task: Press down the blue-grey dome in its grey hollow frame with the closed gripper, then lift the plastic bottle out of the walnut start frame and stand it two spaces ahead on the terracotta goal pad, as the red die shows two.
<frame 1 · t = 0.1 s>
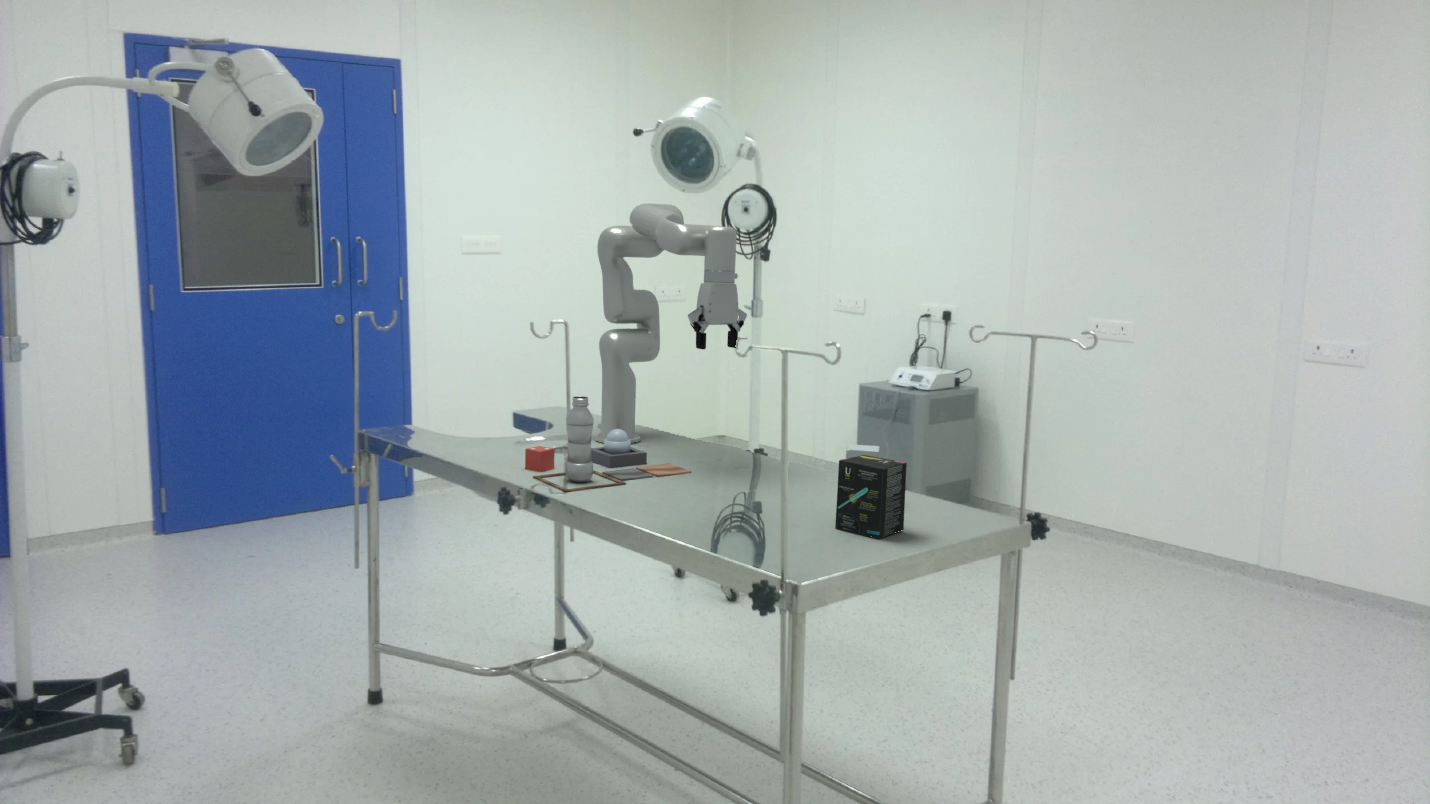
hand: (716, 348, 261), 31 cm above the table, fingers open, 9 cm apart
plastic bottle: (579, 482, 251), resting in game track
game track: (615, 476, 257), on the table
tampon box: (869, 531, 218), on the table
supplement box: (859, 503, 241), on the table
red die: (539, 468, 262), on the table
dome: (617, 440, 272), point 6 cm above the table, slide at 0.0 cm
grey hollow frame: (616, 461, 273), on the table
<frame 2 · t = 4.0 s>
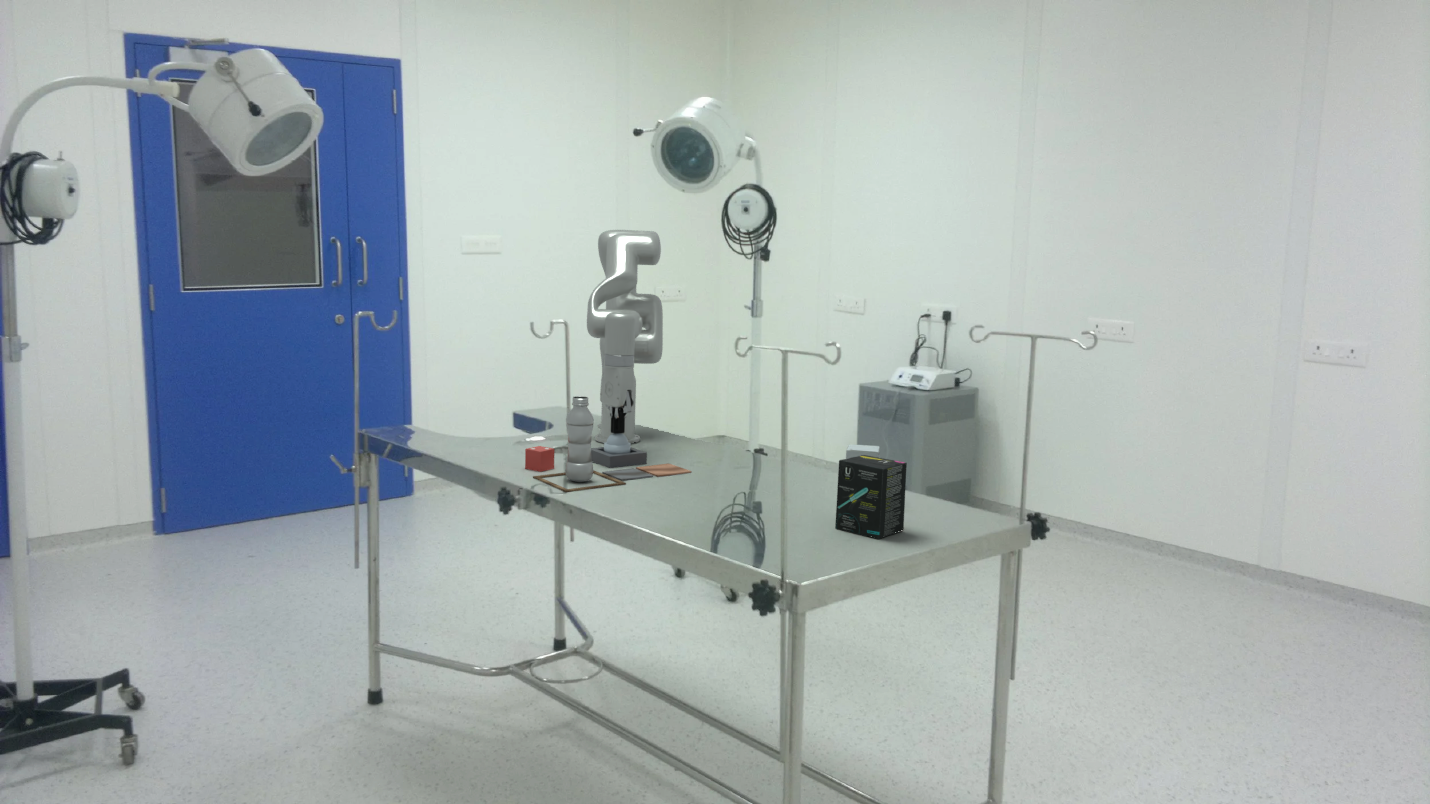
hand: (617, 432, 272), 8 cm above the table, fingers closed
dome: (617, 444, 273), point 5 cm above the table, slide at 0.9 cm, touching gripper
everything else where it was.
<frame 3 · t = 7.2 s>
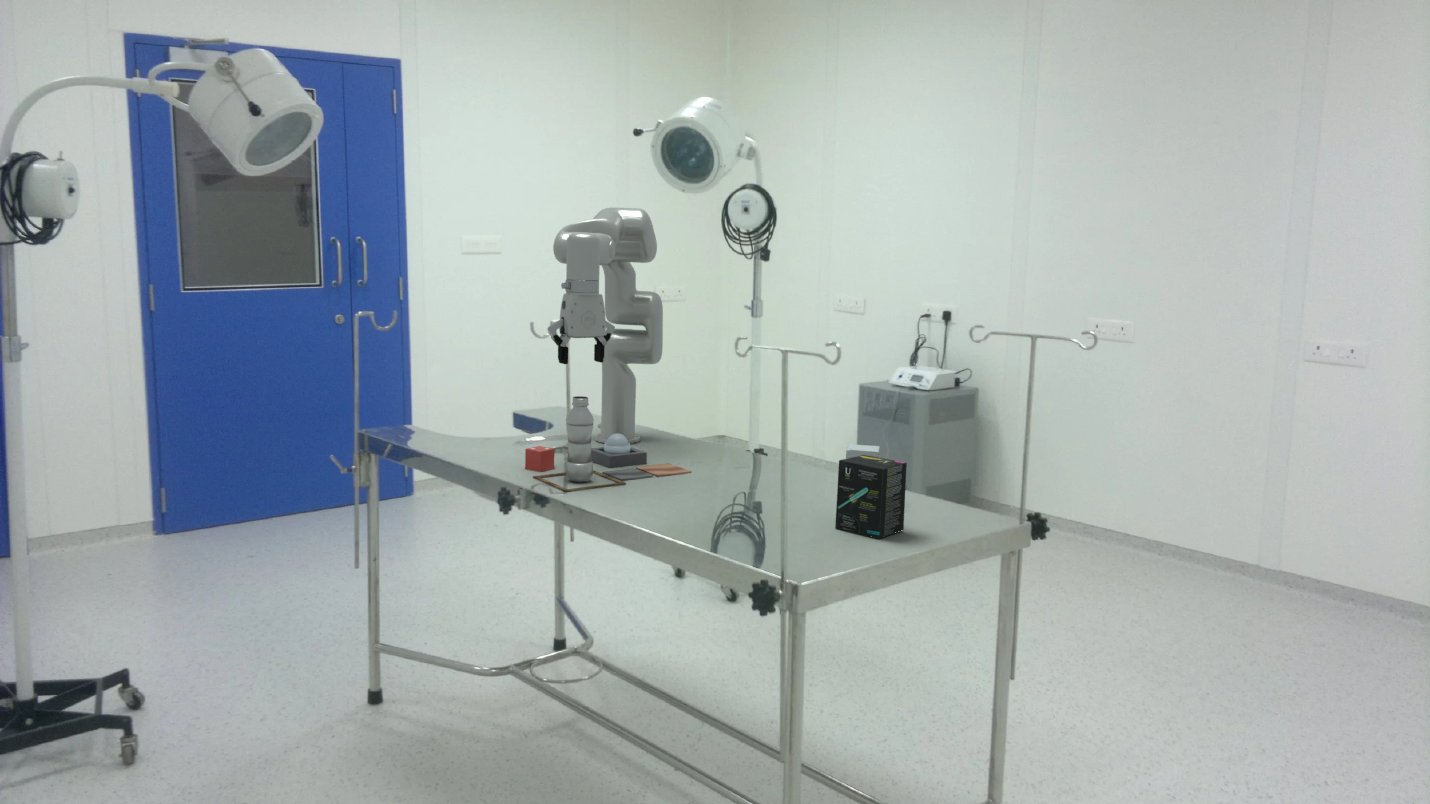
hand: (581, 362, 247), 28 cm above the table, fingers open, 9 cm apart
dome: (617, 445, 273), point 4 cm above the table, slide at 1.2 cm
everything else where it was.
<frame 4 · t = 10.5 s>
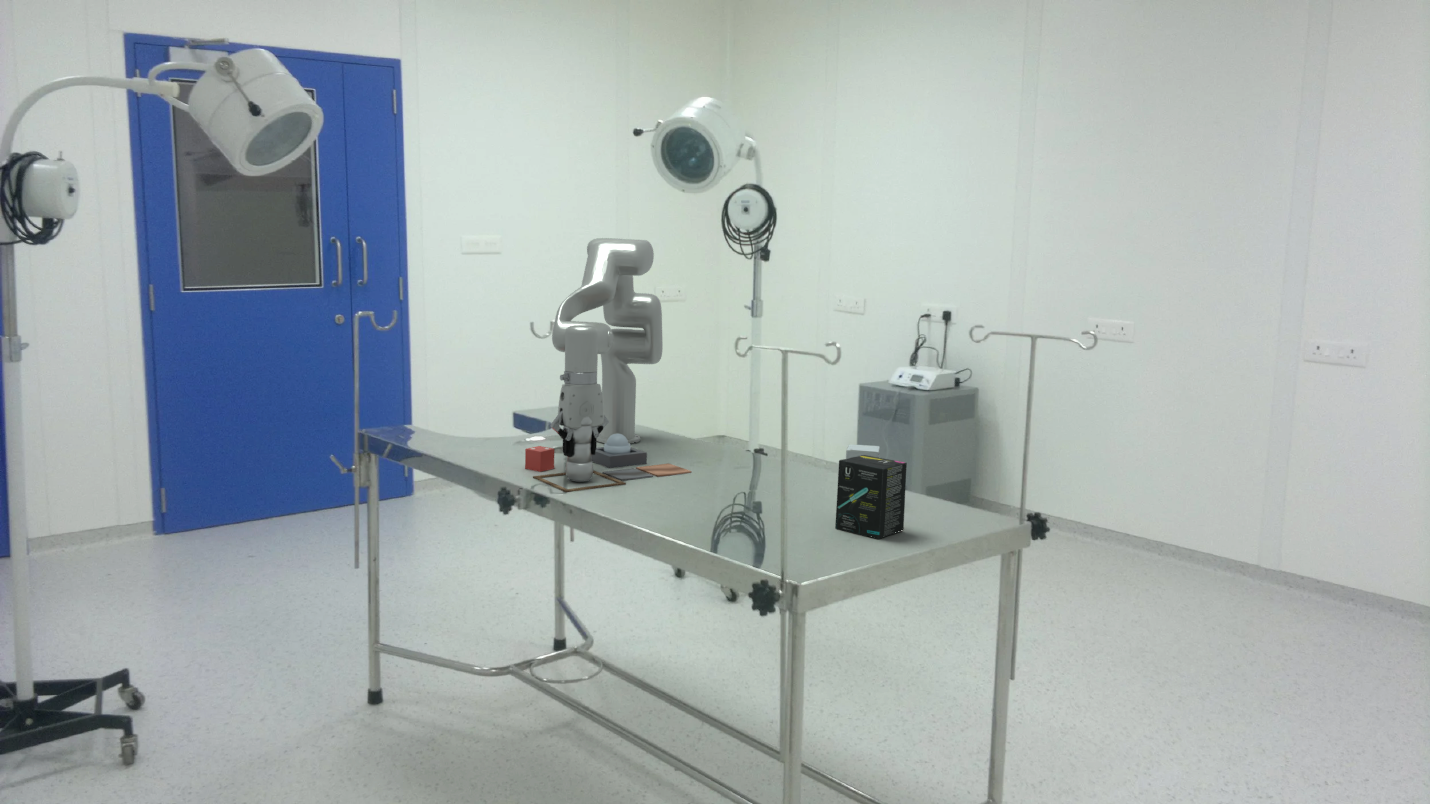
hand: (579, 454, 250), 6 cm above the table, fingers closed on plastic bottle, 5 cm apart
plastic bottle: (579, 482, 251), resting in game track, touching gripper
everything else where it was.
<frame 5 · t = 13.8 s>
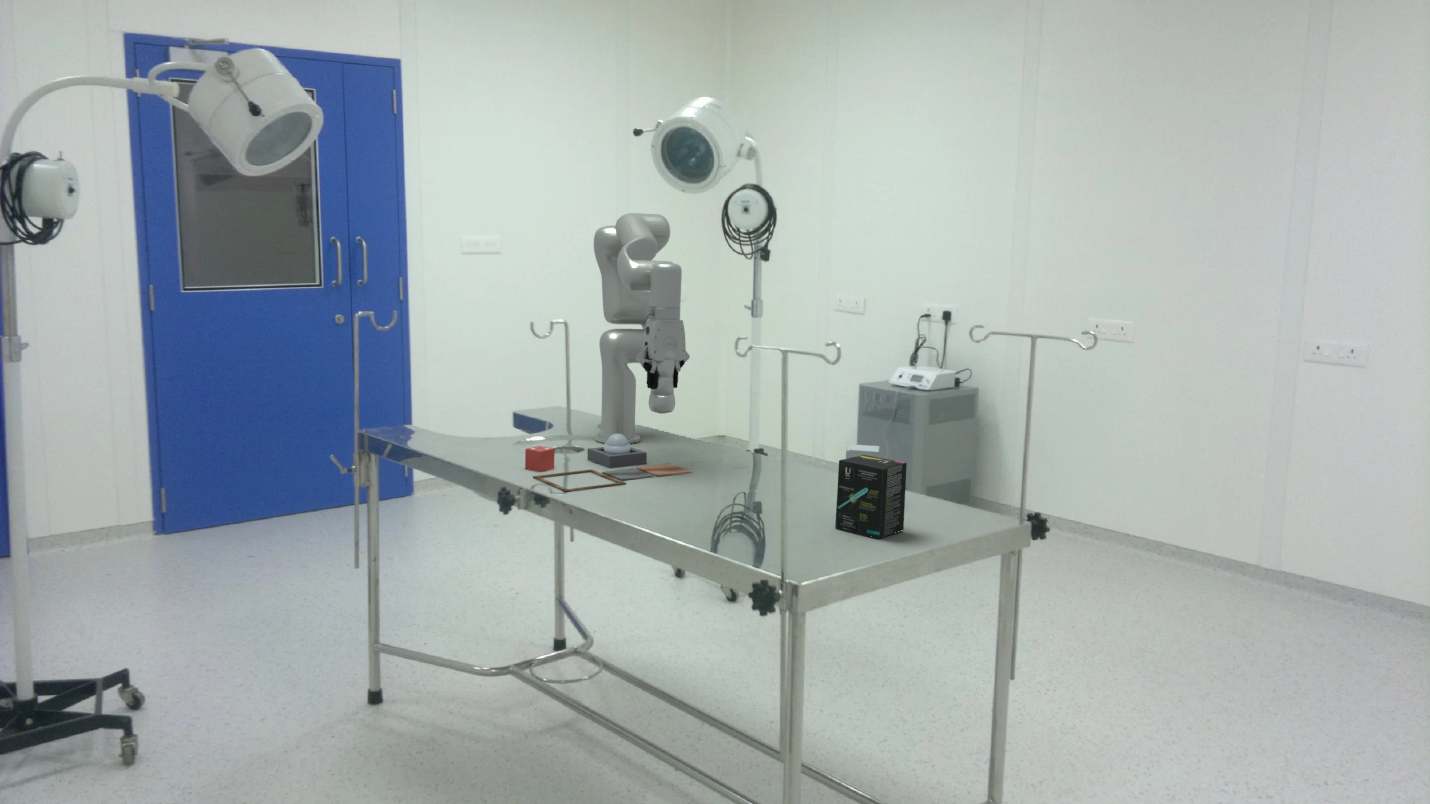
hand: (662, 387, 262), 21 cm above the table, fingers closed on plastic bottle, 5 cm apart
plastic bottle: (661, 413, 263), point 14 cm above the table, touching gripper
everything else where it was.
when the fingers open (8 cm above the table, at t = 17.0 s): plastic bottle moves 1 cm, resting on game track.
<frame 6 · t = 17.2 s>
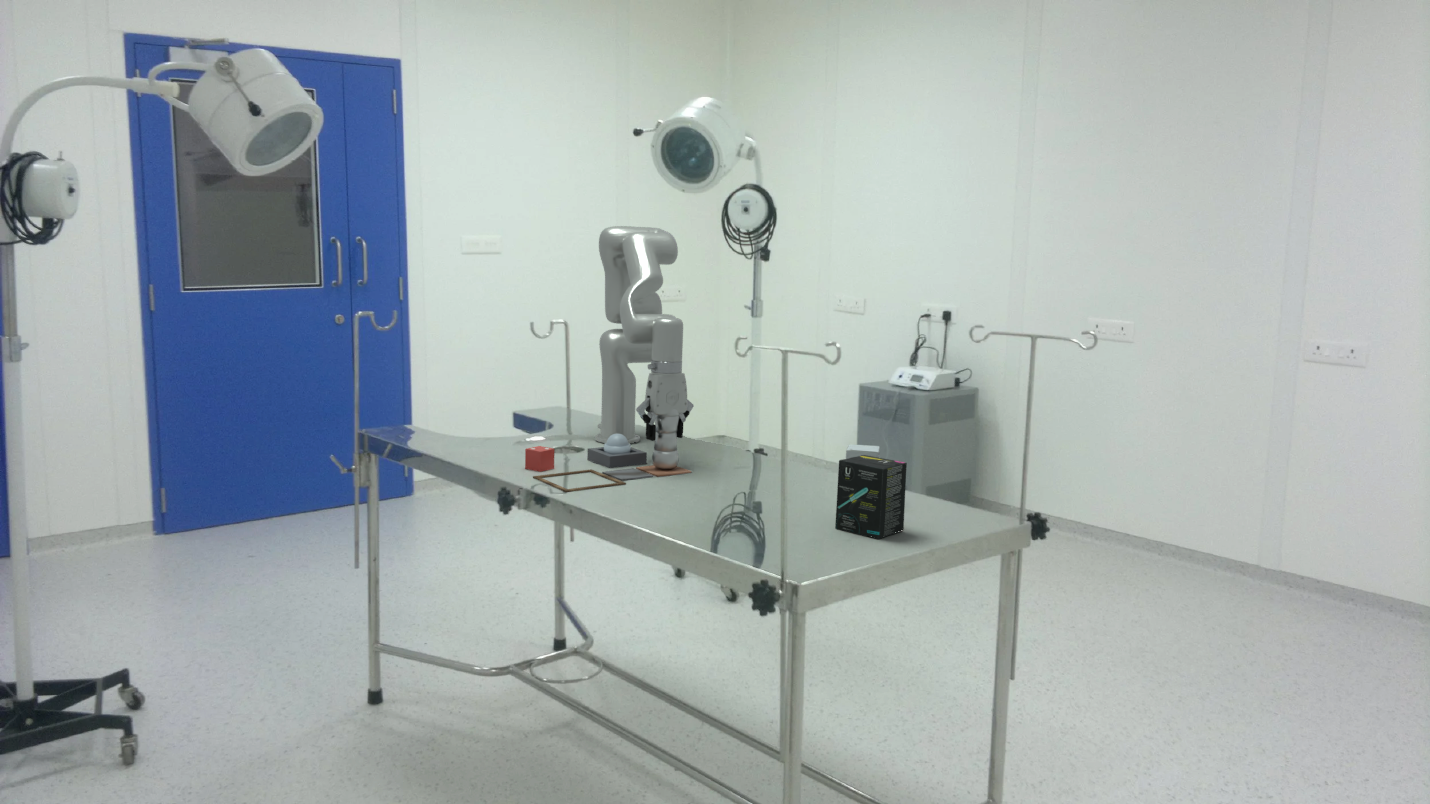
hand: (664, 438, 264), 8 cm above the table, fingers open, 7 cm apart
plastic bottle: (665, 469, 266), resting on game track
everything else where it was.
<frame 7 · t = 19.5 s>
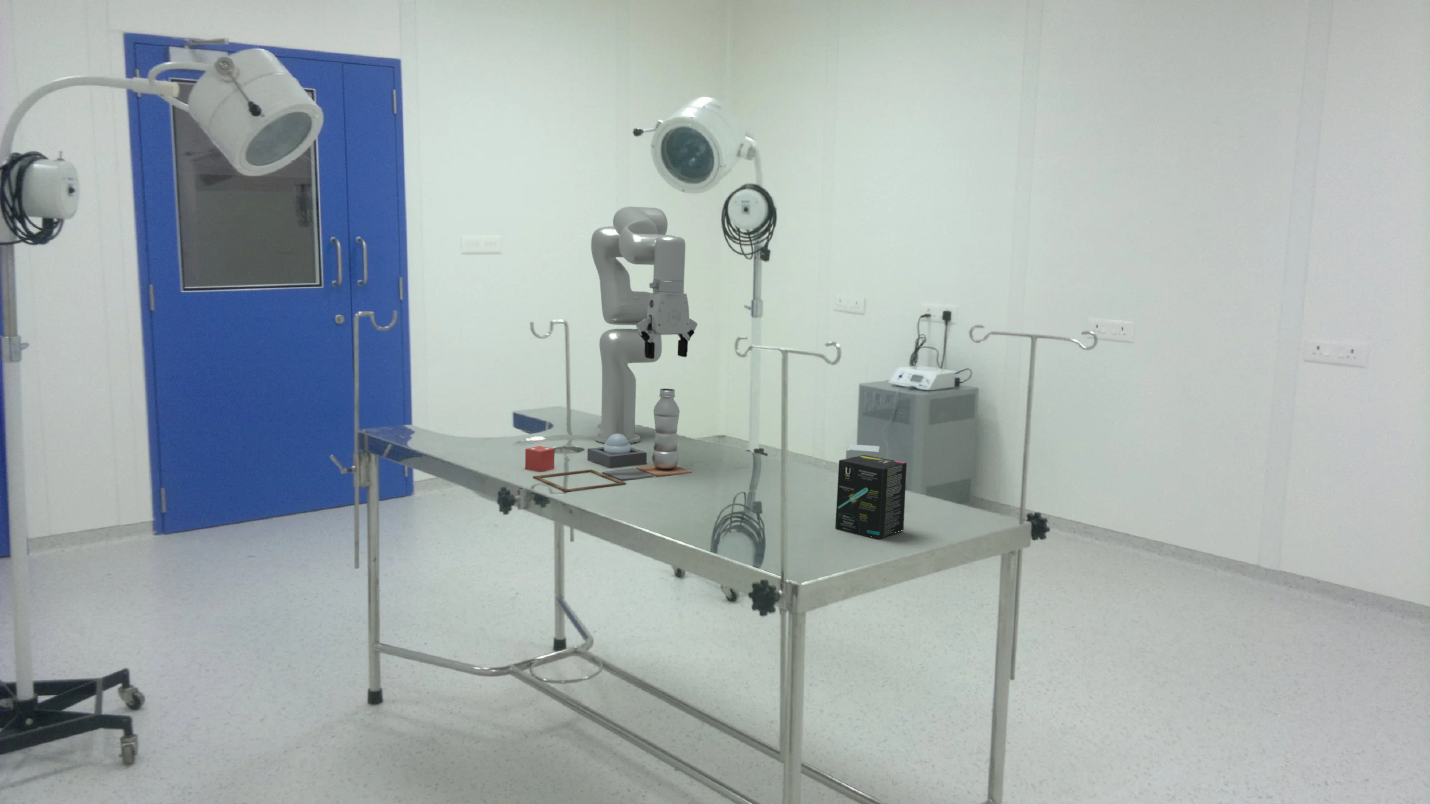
hand: (666, 357, 262), 28 cm above the table, fingers open, 9 cm apart
nothing on the table moved.
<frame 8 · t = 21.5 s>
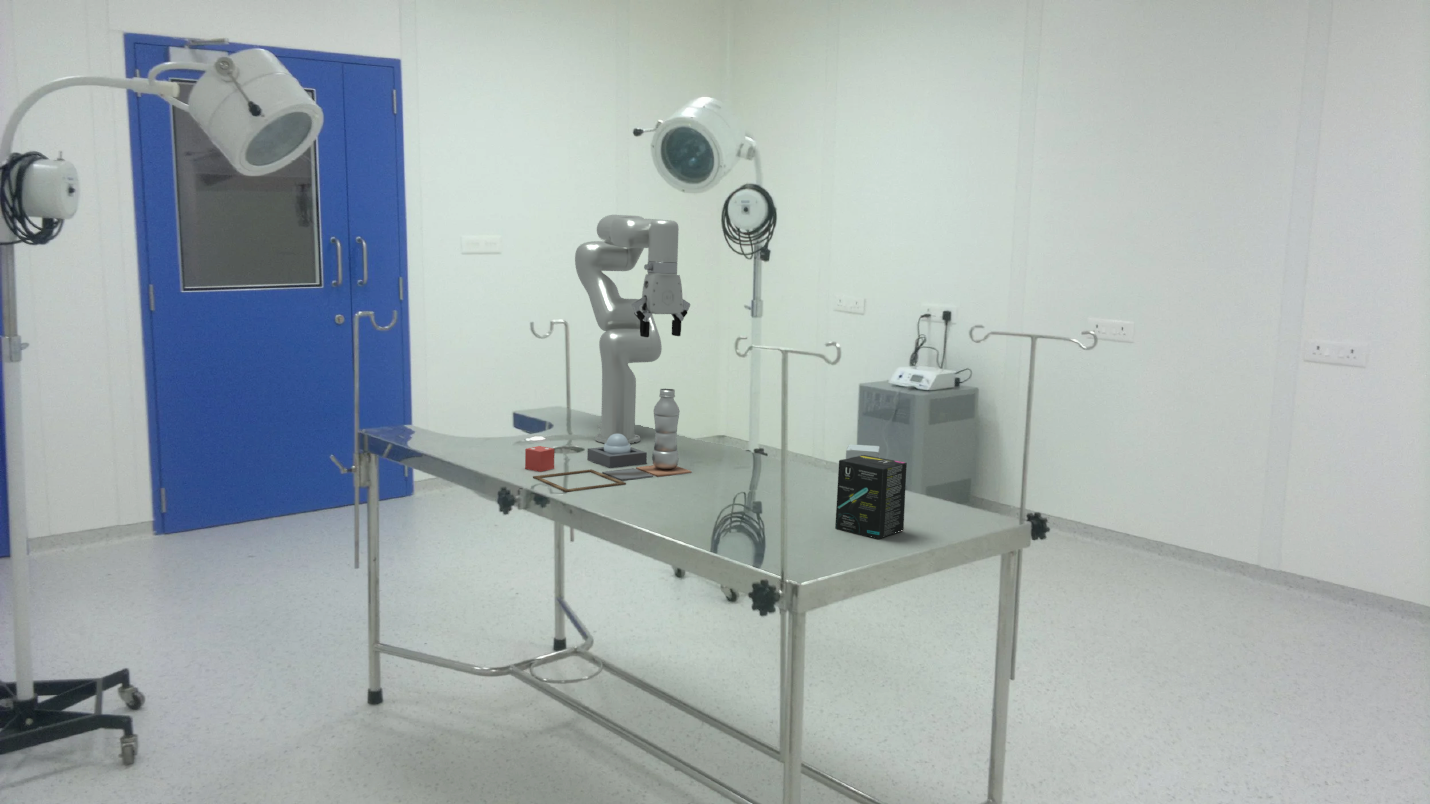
hand: (660, 336, 273), 32 cm above the table, fingers open, 9 cm apart
nothing on the table moved.
at the end: dome slide at 1.2 cm; plastic bottle inside the target area (0.6 cm from its centre), resting on game track; plastic bottle tilted 0° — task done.
